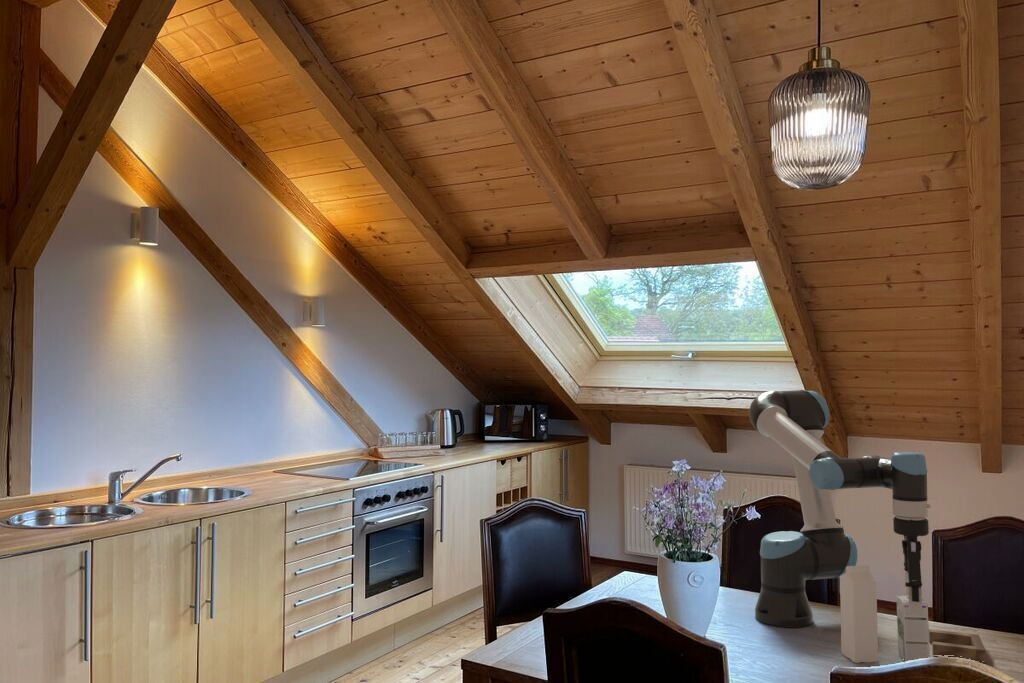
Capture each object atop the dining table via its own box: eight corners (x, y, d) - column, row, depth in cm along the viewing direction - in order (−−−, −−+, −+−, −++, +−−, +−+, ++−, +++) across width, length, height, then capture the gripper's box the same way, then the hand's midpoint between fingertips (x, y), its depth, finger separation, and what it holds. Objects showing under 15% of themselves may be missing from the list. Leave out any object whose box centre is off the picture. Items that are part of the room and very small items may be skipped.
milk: (878, 662, 186) (877, 568, 187) (854, 663, 186) (853, 569, 186) (863, 652, 193) (862, 562, 193) (840, 653, 192) (839, 563, 192)
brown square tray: (933, 656, 190) (933, 644, 190) (929, 641, 200) (928, 629, 200) (986, 663, 185) (985, 650, 185) (979, 646, 196) (978, 634, 196)
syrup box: (931, 665, 184) (929, 603, 185) (903, 663, 185) (902, 601, 186) (923, 656, 190) (922, 595, 190) (897, 654, 191) (895, 594, 191)
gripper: (933, 527, 176) (936, 624, 175) (923, 509, 198) (926, 595, 197) (895, 525, 179) (898, 620, 178) (891, 508, 201) (893, 592, 200)
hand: (913, 607), depth 187 cm, fingers open, 13 cm apart
